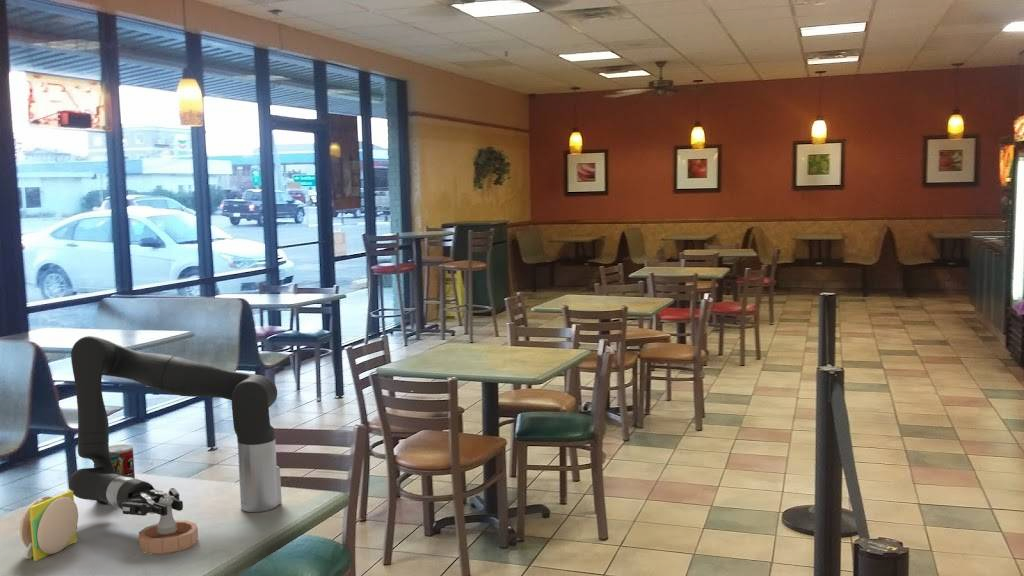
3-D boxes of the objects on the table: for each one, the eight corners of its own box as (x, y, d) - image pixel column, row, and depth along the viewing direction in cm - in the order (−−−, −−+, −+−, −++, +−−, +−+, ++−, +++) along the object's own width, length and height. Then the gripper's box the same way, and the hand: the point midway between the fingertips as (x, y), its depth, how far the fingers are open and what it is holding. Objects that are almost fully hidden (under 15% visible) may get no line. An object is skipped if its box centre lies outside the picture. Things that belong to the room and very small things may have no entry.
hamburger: (55, 538, 215) (51, 488, 214) (84, 541, 212) (81, 491, 211) (14, 558, 203) (10, 505, 202) (44, 561, 201) (40, 508, 200)
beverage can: (118, 504, 238) (115, 459, 237) (91, 505, 239) (88, 460, 237) (129, 496, 245) (126, 452, 244) (103, 496, 246) (100, 452, 244)
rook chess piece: (165, 536, 207) (163, 502, 206) (152, 533, 209) (150, 498, 208) (181, 530, 210) (180, 496, 210) (169, 526, 213) (167, 493, 212)
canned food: (124, 491, 249) (121, 452, 248) (98, 490, 251) (95, 451, 250) (141, 483, 257) (138, 444, 256) (115, 482, 258) (113, 443, 257)
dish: (176, 530, 219) (176, 517, 218) (209, 540, 211) (208, 527, 211) (128, 546, 209) (127, 533, 208) (160, 558, 201) (159, 544, 201)
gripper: (101, 486, 211) (144, 501, 201) (156, 471, 223) (199, 484, 213) (103, 518, 212) (146, 534, 202) (158, 501, 224) (201, 515, 213)
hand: (173, 508), depth 207 cm, fingers closed on rook chess piece, 3 cm apart
